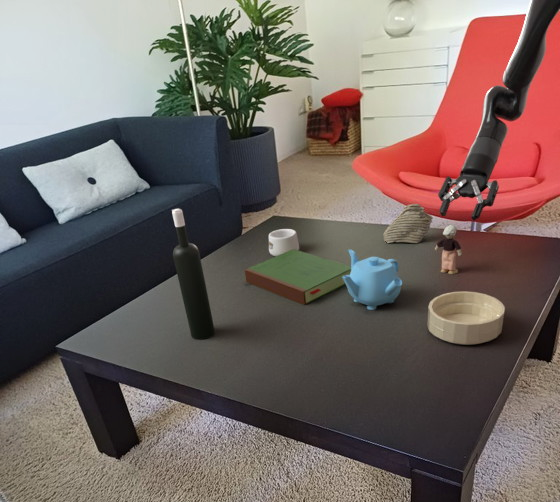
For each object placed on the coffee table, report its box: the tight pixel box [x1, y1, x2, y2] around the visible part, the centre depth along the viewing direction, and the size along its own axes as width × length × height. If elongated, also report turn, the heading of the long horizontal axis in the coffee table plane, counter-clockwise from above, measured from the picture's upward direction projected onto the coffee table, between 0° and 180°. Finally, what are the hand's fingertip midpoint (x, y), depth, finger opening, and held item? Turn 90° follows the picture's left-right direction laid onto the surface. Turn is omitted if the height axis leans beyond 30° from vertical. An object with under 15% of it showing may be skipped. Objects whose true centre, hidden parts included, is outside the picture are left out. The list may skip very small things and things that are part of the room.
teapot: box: [342, 248, 403, 311], centre depth 128 cm, size 15×14×11 cm
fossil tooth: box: [383, 203, 434, 244], centre depth 160 cm, size 12×6×15 cm
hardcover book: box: [244, 249, 351, 306], centre depth 145 cm, size 25×19×4 cm
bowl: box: [427, 290, 506, 346], centre depth 114 cm, size 15×15×6 cm
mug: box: [268, 228, 300, 257], centre depth 166 cm, size 12×10×6 cm
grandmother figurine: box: [434, 224, 463, 275], centre depth 138 cm, size 8×4×13 cm, turn 57°
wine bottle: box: [171, 207, 216, 340], centre depth 118 cm, size 6×6×30 cm
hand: (457, 217), depth 136 cm, fingers open, 8 cm apart
